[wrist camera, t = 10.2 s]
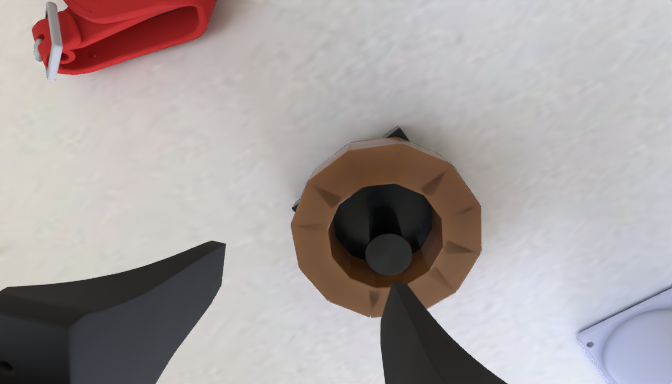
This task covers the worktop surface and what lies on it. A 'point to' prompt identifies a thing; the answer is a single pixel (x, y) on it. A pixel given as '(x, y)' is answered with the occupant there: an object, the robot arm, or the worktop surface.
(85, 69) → the tracker holder
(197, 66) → the worktop surface
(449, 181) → the ring
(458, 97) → the worktop surface
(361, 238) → the rack
